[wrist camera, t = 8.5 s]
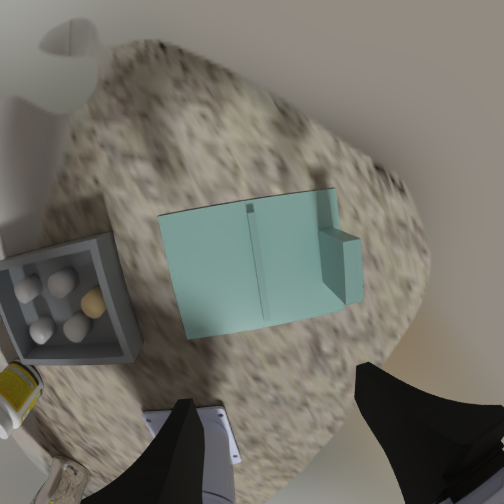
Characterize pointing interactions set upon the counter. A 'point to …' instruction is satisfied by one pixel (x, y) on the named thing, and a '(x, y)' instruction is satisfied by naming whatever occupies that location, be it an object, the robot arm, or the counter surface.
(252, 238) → the lid
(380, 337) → the counter surface
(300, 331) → the counter surface
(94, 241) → the tub
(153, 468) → the robot arm
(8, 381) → the supplement bottle
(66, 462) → the beer glass
